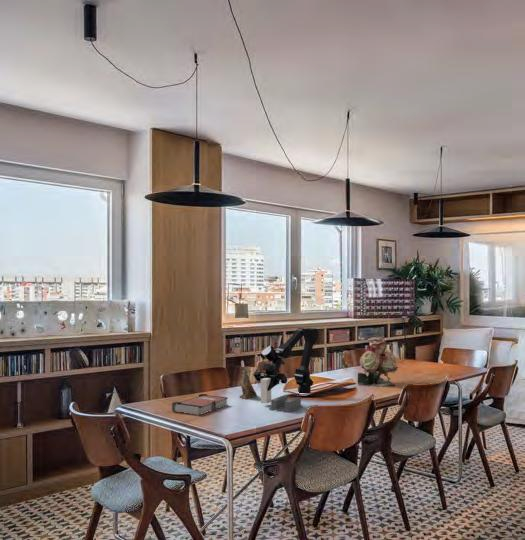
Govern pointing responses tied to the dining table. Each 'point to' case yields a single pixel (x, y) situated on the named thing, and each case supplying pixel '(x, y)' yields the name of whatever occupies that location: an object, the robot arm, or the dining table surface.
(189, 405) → the book
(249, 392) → the worn brown figurine
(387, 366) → the rose bouquet
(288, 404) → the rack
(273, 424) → the dining table surface
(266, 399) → the grey block
